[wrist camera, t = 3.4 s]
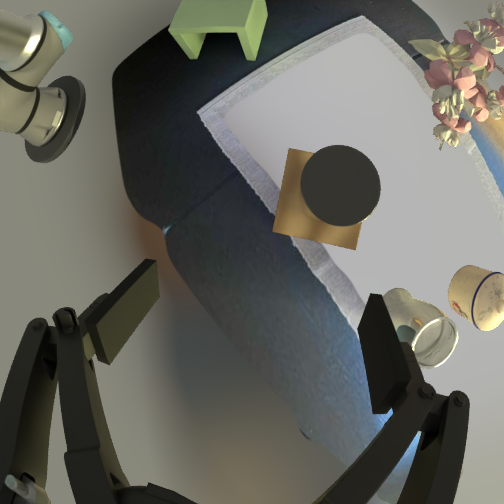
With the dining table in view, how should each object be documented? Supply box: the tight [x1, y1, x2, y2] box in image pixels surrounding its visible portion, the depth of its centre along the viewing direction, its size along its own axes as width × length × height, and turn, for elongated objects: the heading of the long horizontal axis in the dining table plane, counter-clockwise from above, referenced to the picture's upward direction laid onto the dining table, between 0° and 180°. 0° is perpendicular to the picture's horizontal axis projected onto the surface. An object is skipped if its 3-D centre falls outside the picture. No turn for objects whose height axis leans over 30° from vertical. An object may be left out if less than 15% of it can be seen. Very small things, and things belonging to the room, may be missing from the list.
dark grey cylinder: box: [298, 145, 381, 227], centre depth 27 cm, size 6×6×14 cm
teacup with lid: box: [448, 265, 504, 331], centre depth 31 cm, size 12×9×12 cm
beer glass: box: [383, 288, 458, 369], centre depth 32 cm, size 7×7×15 cm
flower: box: [408, 2, 504, 150], centre depth 25 cm, size 20×22×25 cm
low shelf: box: [272, 148, 362, 250], centre depth 37 cm, size 11×11×6 cm
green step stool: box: [168, 0, 268, 61], centre depth 33 cm, size 12×12×10 cm
